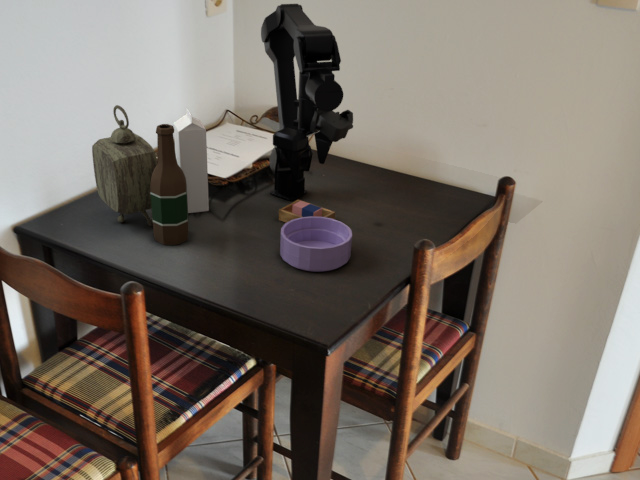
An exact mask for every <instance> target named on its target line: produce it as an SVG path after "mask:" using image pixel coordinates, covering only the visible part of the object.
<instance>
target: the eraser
mask: <svg viewBox="0 0 640 480" xmlns="http://www.w3.org/2000/svg"><path fill="white" fill-rule="evenodd" d="M303 201H304V200H302V201H299V202H297V203H295V204H293V205H292V213H294V214H296V215H299V216H302V217H310V216H315V217H322V208H323V207H322V206H319V205H316V204H313V203H310V202H307V201H304V202H303ZM306 202H307V203H306ZM309 203H310V204H309ZM312 204H313V205H312ZM315 205H316V206H315ZM318 206H319V207H318ZM321 207H322V208H321Z"/></svg>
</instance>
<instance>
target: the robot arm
mask: <svg viewBox="0 0 640 480" xmlns="http://www.w3.org/2000/svg"><path fill="white" fill-rule="evenodd" d="M260 37H261V42H262V43H264V44H263V45H264V52H265V54H266V55H267V56H268V58H269V59H270V60H271V62H272V64H273V72H274V82H275V92H276V93H275V94H276V103H277V104H276V105H277V114H278V115H277V116H278V125H279V130H277V131H275V132H273V134H272V146H273V149H272V150H271V153H270V155H269V157H268V163H269V164H268V165H269V168H270V170H271V171H272V173H273V174H274V181H273V182H274V187H273V190H271V191H270V192H269V194H270V195H271V196H274V197H278V198H280V199H282V200H286V201H289V202H294V201H296V200H298V198H300V197H303V196H304V195H306V194H307V193H308V191H307V190H305V186H306V184H305V183H306V178H305V172H310V169H311V166H312V159H313V155H314V151H313V150H312V147H311V145H310V141H309V138H310V137H311V136H314V140H315V148H316V154H317V160H318V163H319V164H321V165H324V164H325V162H326V160H327V157H328V155H329V152H330V149H331V147H332V144H333V143H337V142H339V141H341V140H343V139H345V138H346V137H347V135H348V133H349V130H352V129H353V128H354V125H353V123H354V113H353V112H352V111H351V110H350V109H345V110H344V111H342V112H341V113H340V111H334V110H336V109H338V107H340V105H341V104H342V102H343V100H344V91H343V88H342V86H341V84H340V83H339V82H338V81H336V80H335V77H336V76H335V74H334V72H339V71H340V70H341V66H340V65H341V63H342V59H341V55H340V50H339V46H338V42H337V39H336V37H335V34H333V31H332V30H331V29H330V28H327V27H326V26H321V25H316V24H315V23H314V22H313V21H312V20H311V19H310V18H309V16H308V15H307V14H306V13H305V11H304V9H303V6H302V5H301V4H299V3H280V5H277V6H276V8H275V10H274V11H272V12H271V13H270V14H268V15H267V16H266V17H265V18H264V19H263V21H262V24H261V27H260ZM295 60H296V64H297V68H298V71H299V72H298V90H297V81H296V70H295V69H296V68H295ZM297 91H298V92H297Z"/></svg>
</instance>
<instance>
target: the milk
mask: <svg viewBox="0 0 640 480" xmlns="http://www.w3.org/2000/svg"><path fill="white" fill-rule="evenodd" d="M173 127H174V133H173V137H174V146H175V154H176V160H177V164H178V165H179V167H180V168H181V169H182V170H183V173H184V175H185V177H186V184H187V201H188V214H195V213H203V212H209V211H210V206H209V205H210V202H209V173H208V145H207V144H208V143H207V128H206V127H205V126H204V124H203V123H202V121H201V120H200V119H198V118H196V117H194V116H193V115H192V114H191V112H190V110H189V108H188V107H185V114H184V115H183V116H181V117H180V118H178V119H177V120H175V121H174V122H173Z"/></svg>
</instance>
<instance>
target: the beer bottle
mask: <svg viewBox="0 0 640 480" xmlns="http://www.w3.org/2000/svg"><path fill="white" fill-rule="evenodd" d="M155 134H157V135H156V139H157V143H156V144H157V145H156V146H157V166H156V167H155V169H154V171H153V174H152V178H151V183H150V193H151V206H152V209H151V215H152V216H151V219H153V226H152V228H153V237H154V238H153V239H154V240H155V242H158V243H160V244H161V245H163V246H178V245H181V244H182V243H185V242H187V241H188V240H189V235H190V234H189V232H190V230H189V229H190V227H189V226H190V225H189V224H190V223H189V222H190V221H189V213H188V201H187V184H186V177H185V175H184V173H183V170H182V169H181V168H180V167H179V165H178V164H177V160H176V154H175V139H174V125H171V124H169V123H161V124H159V125H156V129H155Z"/></svg>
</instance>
